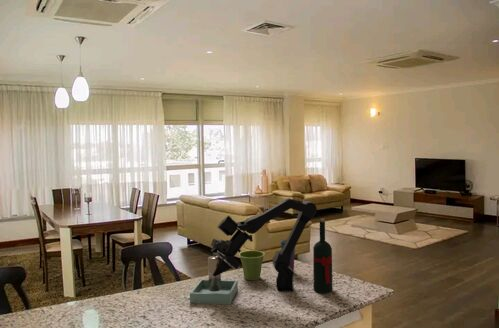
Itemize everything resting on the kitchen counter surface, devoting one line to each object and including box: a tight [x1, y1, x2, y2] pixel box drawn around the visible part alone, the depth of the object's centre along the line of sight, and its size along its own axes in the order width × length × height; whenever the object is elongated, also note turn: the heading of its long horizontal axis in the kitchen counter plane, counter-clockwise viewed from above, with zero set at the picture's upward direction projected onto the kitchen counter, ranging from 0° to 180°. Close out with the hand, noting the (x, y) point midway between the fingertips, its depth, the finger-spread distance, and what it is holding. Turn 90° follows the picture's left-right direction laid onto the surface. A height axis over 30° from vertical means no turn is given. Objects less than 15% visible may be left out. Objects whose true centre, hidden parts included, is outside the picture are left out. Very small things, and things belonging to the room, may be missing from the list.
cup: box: [280, 239, 296, 272], centre depth 192 cm, size 7×7×15 cm
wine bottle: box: [312, 218, 333, 295], centre depth 166 cm, size 8×10×30 cm
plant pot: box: [238, 250, 266, 281], centre depth 185 cm, size 12×12×11 cm
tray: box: [189, 279, 239, 305], centre depth 164 cm, size 16×16×4 cm
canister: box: [207, 255, 222, 292], centre depth 164 cm, size 5×5×13 cm
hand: (211, 273), depth 163 cm, fingers closed on canister, 5 cm apart
